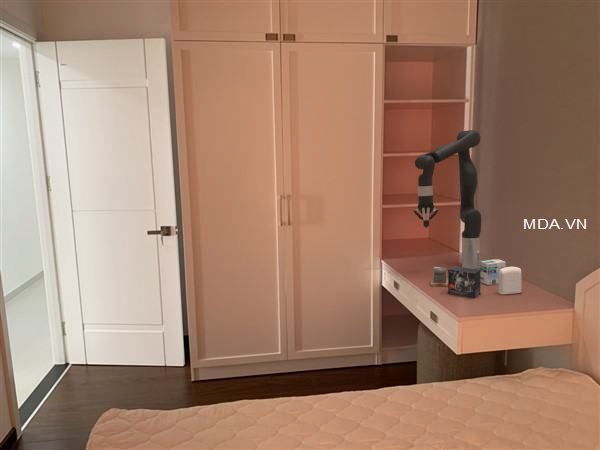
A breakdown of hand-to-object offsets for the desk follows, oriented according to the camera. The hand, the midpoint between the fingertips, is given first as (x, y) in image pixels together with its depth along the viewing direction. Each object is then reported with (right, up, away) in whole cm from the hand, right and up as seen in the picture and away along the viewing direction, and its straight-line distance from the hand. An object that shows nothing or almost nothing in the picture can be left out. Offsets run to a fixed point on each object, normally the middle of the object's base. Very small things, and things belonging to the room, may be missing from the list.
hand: (426, 227), depth 251 cm
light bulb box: (+30, -28, -13) cm, 43 cm away
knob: (+4, -27, -10) cm, 29 cm away
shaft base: (+5, -28, -10) cm, 31 cm away
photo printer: (+30, -30, -30) cm, 53 cm away
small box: (+10, -31, -28) cm, 43 cm away
